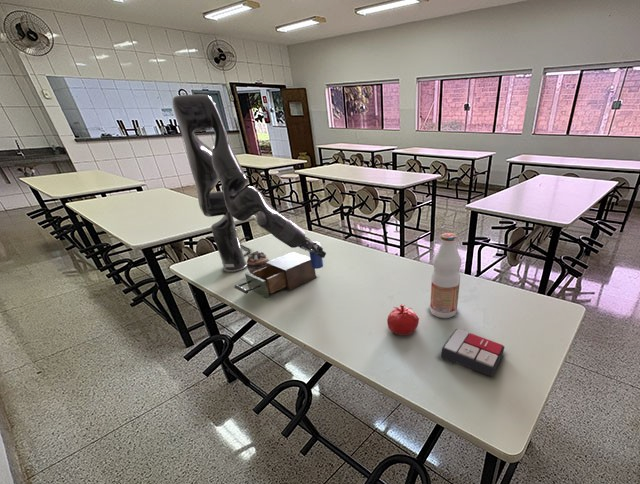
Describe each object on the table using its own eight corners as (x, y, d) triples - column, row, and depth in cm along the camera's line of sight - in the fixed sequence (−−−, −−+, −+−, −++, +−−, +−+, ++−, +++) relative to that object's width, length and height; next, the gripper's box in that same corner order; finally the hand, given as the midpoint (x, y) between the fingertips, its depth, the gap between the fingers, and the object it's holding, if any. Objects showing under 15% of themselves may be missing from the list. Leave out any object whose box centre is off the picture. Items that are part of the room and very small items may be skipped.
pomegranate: (408, 343, 97) (408, 317, 92) (381, 332, 102) (380, 308, 97) (423, 326, 104) (424, 302, 99) (398, 317, 109) (397, 294, 104)
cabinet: (289, 290, 126) (285, 270, 121) (270, 281, 132) (265, 262, 128) (316, 277, 135) (313, 258, 131) (296, 269, 142) (293, 251, 137)
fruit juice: (439, 321, 107) (444, 242, 92) (425, 307, 114) (428, 232, 100) (462, 314, 110) (471, 237, 96) (447, 301, 118) (453, 228, 103)
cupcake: (244, 277, 136) (238, 255, 130) (260, 268, 143) (255, 247, 138) (262, 281, 133) (256, 259, 127) (277, 271, 140) (273, 250, 135)
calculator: (494, 367, 82) (441, 346, 89) (491, 378, 85) (440, 357, 91) (505, 344, 91) (456, 326, 97) (502, 355, 93) (454, 337, 99)
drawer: (251, 305, 115) (246, 288, 111) (234, 295, 120) (229, 279, 117) (294, 284, 128) (291, 269, 124) (276, 277, 134) (273, 262, 130)
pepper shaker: (309, 265, 121) (306, 243, 117) (320, 262, 124) (317, 240, 119) (314, 269, 118) (310, 247, 114) (325, 266, 120) (322, 244, 116)
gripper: (306, 226, 102) (337, 249, 117) (279, 218, 109) (311, 241, 124) (296, 246, 101) (328, 267, 116) (269, 237, 109) (303, 258, 123)
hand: (319, 253), depth 120 cm, fingers closed on pepper shaker, 4 cm apart
